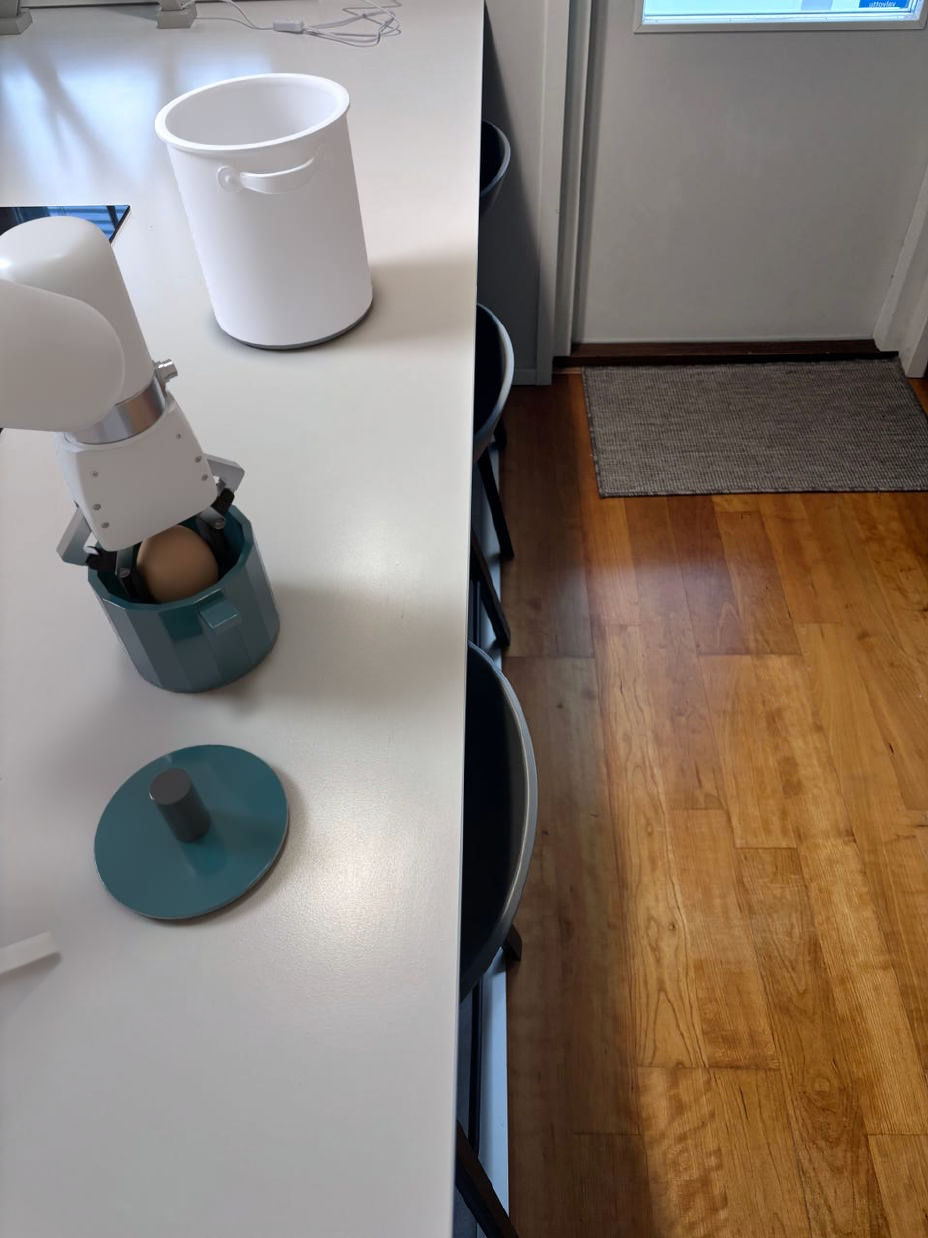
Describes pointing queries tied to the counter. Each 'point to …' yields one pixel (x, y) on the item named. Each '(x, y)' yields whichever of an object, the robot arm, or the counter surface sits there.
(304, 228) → the bucket
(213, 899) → the saucepan lid
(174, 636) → the saucepan
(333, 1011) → the counter surface
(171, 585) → the egg
